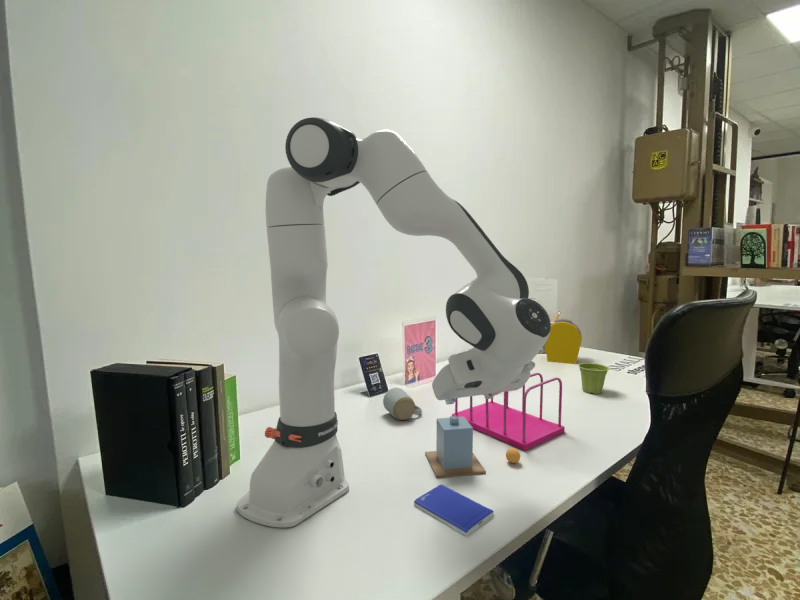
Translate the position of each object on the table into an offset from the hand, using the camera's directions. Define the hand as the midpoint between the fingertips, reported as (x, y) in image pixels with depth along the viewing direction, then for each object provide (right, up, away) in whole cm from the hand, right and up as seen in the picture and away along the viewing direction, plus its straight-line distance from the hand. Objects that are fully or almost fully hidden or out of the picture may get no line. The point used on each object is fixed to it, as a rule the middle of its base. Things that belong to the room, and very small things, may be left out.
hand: (468, 398), depth 91 cm
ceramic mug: (-14, -13, +33) cm, 38 cm away
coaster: (-2, -16, +5) cm, 17 cm away
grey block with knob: (-2, -15, +5) cm, 16 cm away
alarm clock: (+56, -5, +93) cm, 109 cm away
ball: (+11, -14, +5) cm, 18 cm away
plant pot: (+51, -10, +53) cm, 74 cm away
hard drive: (-5, -19, -12) cm, 23 cm away
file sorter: (+15, -14, +25) cm, 32 cm away
